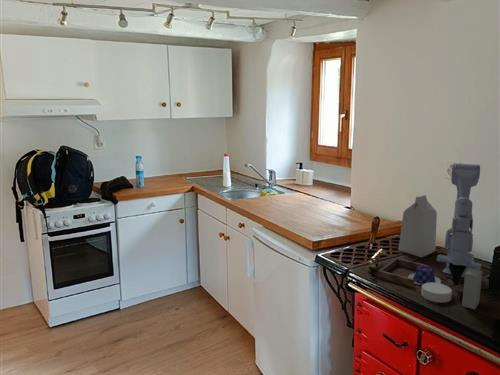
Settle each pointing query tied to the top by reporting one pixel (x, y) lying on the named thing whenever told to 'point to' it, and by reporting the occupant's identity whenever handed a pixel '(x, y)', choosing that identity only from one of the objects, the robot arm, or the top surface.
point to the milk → (418, 228)
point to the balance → (376, 260)
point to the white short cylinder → (436, 292)
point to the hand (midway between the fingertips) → (456, 283)
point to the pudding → (424, 275)
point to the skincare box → (472, 288)
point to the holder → (399, 279)
